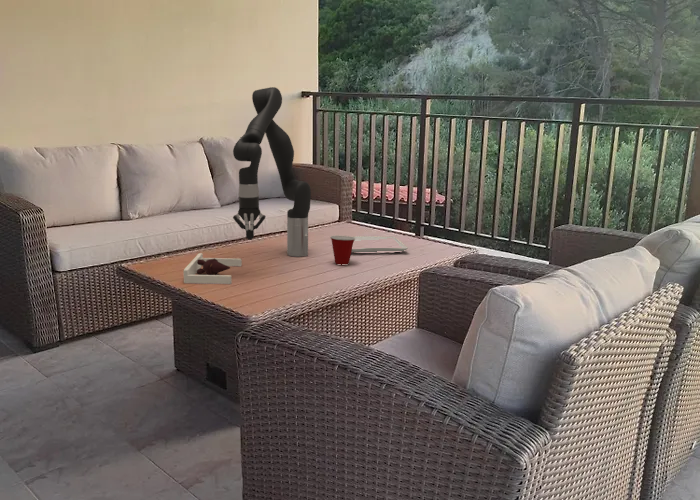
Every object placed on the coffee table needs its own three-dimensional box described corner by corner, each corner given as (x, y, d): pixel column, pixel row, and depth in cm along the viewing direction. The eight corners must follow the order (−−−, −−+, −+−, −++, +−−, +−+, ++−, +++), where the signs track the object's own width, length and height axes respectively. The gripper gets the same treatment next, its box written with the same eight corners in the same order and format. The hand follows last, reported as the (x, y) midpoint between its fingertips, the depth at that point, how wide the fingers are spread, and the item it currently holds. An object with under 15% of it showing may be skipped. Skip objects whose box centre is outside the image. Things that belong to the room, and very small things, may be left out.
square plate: (408, 255, 290) (408, 247, 289) (349, 256, 285) (349, 248, 284) (394, 242, 316) (394, 235, 315) (340, 243, 311) (340, 235, 310)
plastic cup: (359, 262, 273) (359, 235, 270) (348, 268, 264) (349, 240, 261) (336, 259, 278) (337, 232, 275) (325, 264, 268) (325, 237, 265)
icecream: (235, 259, 248) (202, 258, 254) (224, 258, 241) (191, 257, 247) (234, 276, 248) (202, 275, 253) (224, 276, 241) (191, 275, 246)
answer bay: (241, 265, 263) (241, 253, 262) (231, 284, 237) (230, 271, 235) (199, 264, 263) (198, 253, 262) (183, 283, 236) (183, 270, 235)
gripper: (267, 193, 246) (267, 237, 251) (232, 193, 246) (234, 237, 250) (265, 196, 239) (266, 241, 243) (230, 196, 239) (231, 241, 243)
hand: (250, 239), depth 247 cm, fingers closed
